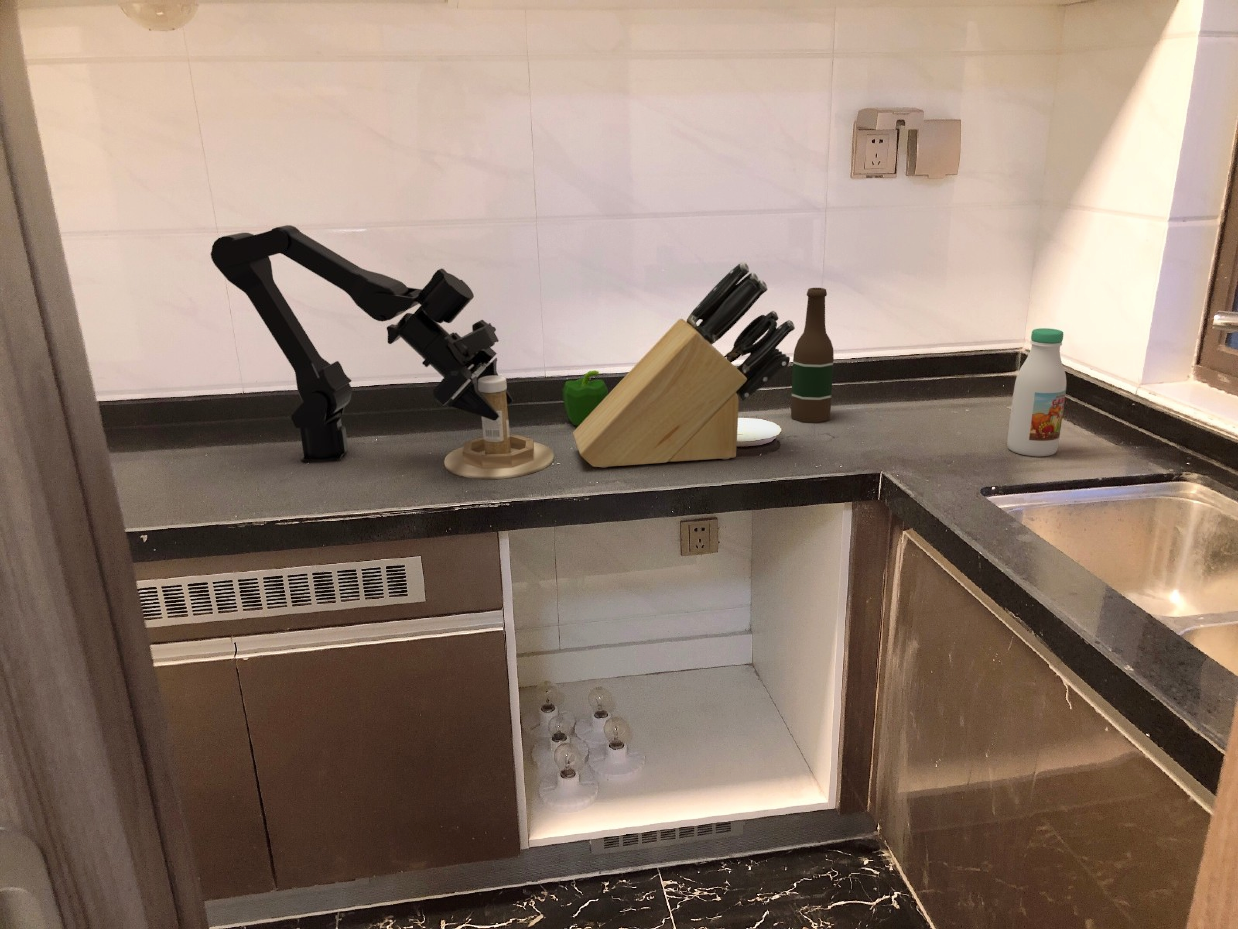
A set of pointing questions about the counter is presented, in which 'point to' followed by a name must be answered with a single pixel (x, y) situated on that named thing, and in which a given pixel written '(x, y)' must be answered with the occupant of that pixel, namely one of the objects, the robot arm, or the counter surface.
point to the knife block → (688, 385)
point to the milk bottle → (1038, 397)
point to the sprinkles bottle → (498, 430)
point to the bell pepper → (583, 397)
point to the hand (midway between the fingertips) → (504, 410)
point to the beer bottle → (813, 365)
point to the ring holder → (499, 459)
